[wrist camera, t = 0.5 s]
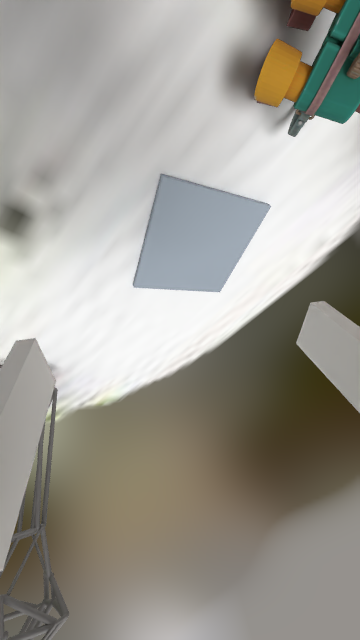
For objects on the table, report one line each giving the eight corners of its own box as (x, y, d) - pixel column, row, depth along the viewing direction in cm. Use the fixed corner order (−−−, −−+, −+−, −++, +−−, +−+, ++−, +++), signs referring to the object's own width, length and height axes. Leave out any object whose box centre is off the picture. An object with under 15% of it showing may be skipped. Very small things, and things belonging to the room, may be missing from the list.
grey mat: (161, 173, 23) (162, 176, 22) (268, 204, 29) (270, 206, 29) (133, 284, 32) (133, 287, 32) (218, 289, 38) (219, 292, 38)
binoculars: (313, -55, 17) (351, -175, 9) (431, -1, 17) (557, -79, 10) (248, 114, 23) (241, 119, 16) (334, 151, 23) (365, 173, 16)
